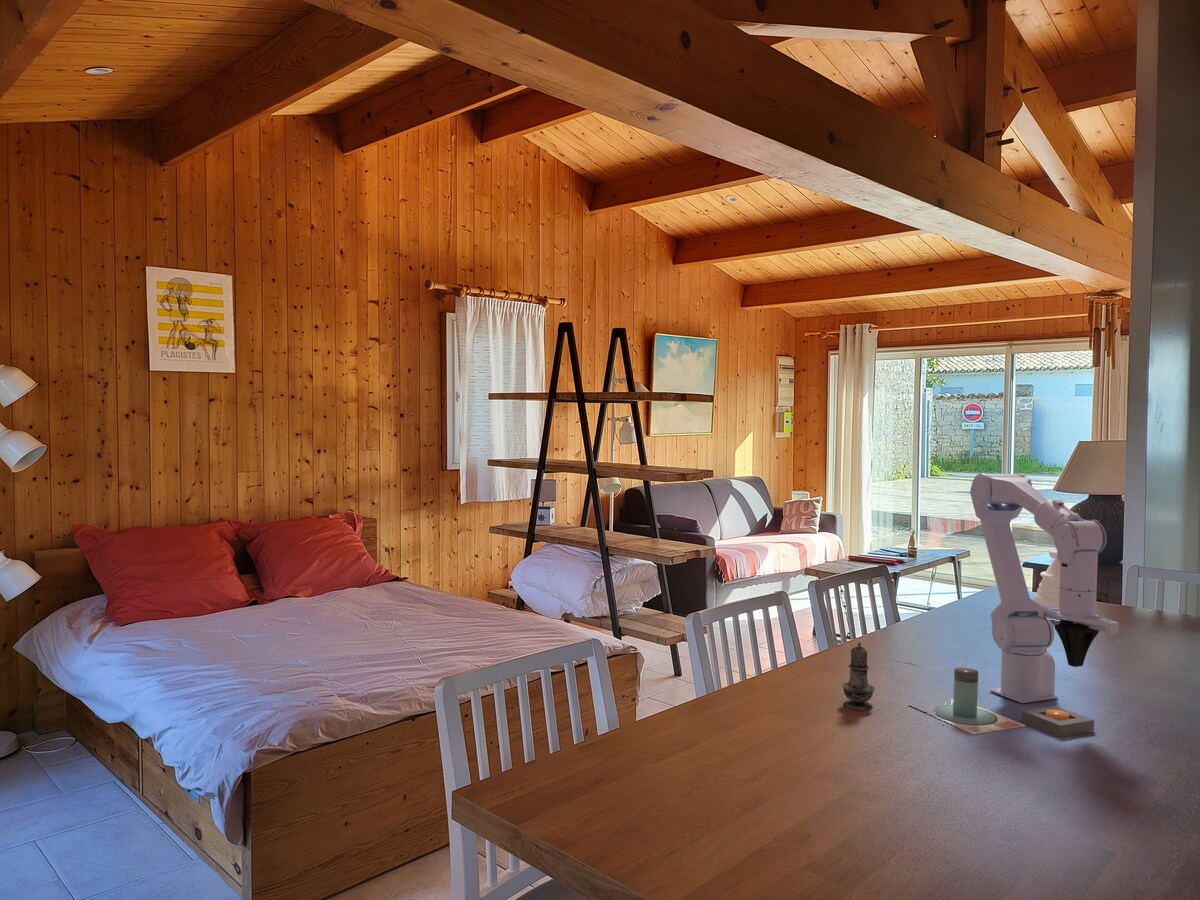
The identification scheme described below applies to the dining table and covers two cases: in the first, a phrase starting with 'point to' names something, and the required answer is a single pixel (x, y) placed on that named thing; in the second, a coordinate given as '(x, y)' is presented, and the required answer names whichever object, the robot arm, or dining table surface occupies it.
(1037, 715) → the button housing
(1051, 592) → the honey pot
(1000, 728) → the picture sheet
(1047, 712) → the button
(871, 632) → the dining table surface
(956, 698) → the green capped cylinder
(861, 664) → the salt shaker
